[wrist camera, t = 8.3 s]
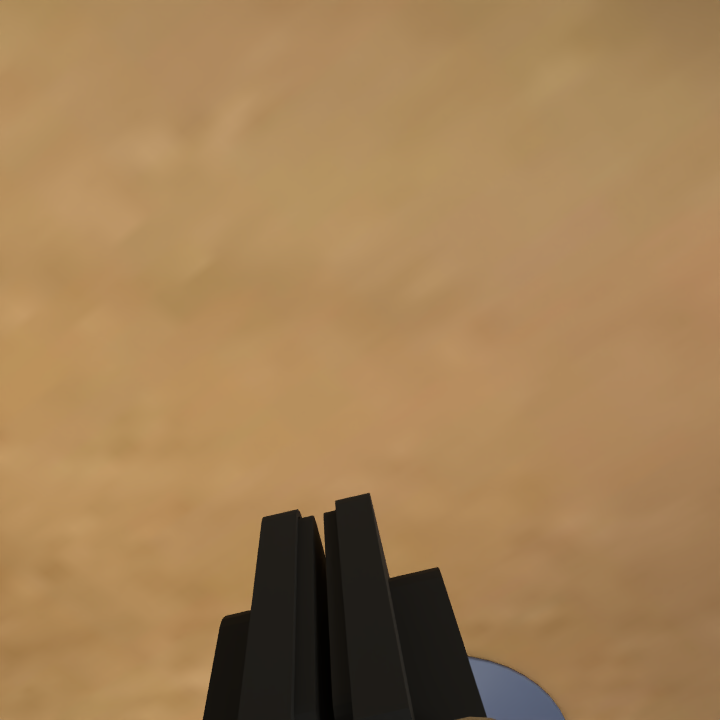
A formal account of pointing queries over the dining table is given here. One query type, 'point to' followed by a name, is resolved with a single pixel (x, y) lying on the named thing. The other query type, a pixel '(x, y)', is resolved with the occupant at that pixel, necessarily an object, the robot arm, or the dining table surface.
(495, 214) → the dining table surface
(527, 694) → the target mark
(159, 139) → the dining table surface
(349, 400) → the dining table surface
